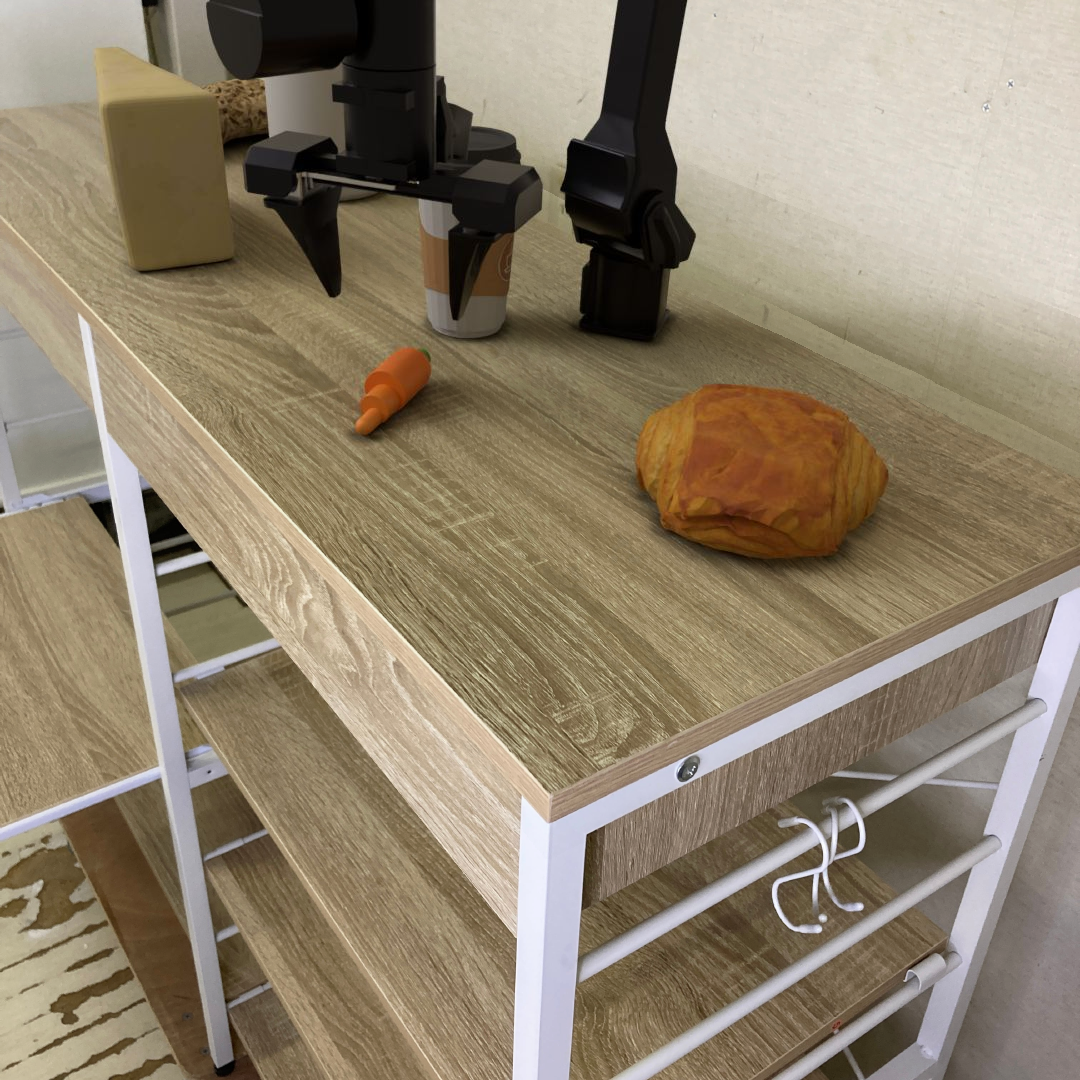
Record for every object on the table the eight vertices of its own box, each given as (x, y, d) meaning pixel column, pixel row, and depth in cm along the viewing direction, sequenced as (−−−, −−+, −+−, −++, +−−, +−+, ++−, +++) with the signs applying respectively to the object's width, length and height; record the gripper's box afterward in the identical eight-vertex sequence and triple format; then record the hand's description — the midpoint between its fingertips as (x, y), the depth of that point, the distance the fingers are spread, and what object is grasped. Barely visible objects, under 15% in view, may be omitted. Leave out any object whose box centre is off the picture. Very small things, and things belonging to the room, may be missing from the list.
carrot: (382, 440, 74) (377, 397, 72) (340, 434, 75) (334, 392, 73) (443, 379, 82) (440, 338, 80) (405, 374, 83) (401, 334, 81)
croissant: (667, 458, 78) (665, 351, 74) (894, 482, 72) (905, 367, 68) (597, 557, 67) (591, 437, 63) (860, 595, 61) (871, 466, 57)
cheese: (81, 203, 112) (51, 44, 103) (177, 193, 116) (156, 40, 108) (129, 276, 96) (98, 96, 88) (238, 261, 100) (219, 88, 92)
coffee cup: (503, 350, 87) (509, 157, 78) (403, 337, 88) (398, 145, 80) (526, 311, 94) (533, 129, 85) (432, 299, 95) (430, 119, 86)
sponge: (259, 131, 143) (108, 116, 130) (270, 70, 139) (115, 48, 125) (309, 174, 136) (155, 163, 123) (322, 112, 132) (165, 93, 119)
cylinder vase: (269, 202, 115) (244, -68, 101) (278, 169, 125) (256, -81, 111) (389, 203, 116) (381, -63, 102) (388, 170, 127) (380, -77, 113)
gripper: (576, 57, 70) (561, 290, 79) (316, 26, 75) (329, 249, 83) (516, 90, 61) (507, 348, 70) (225, 53, 66) (251, 299, 75)
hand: (395, 307), depth 75 cm, fingers open, 9 cm apart
